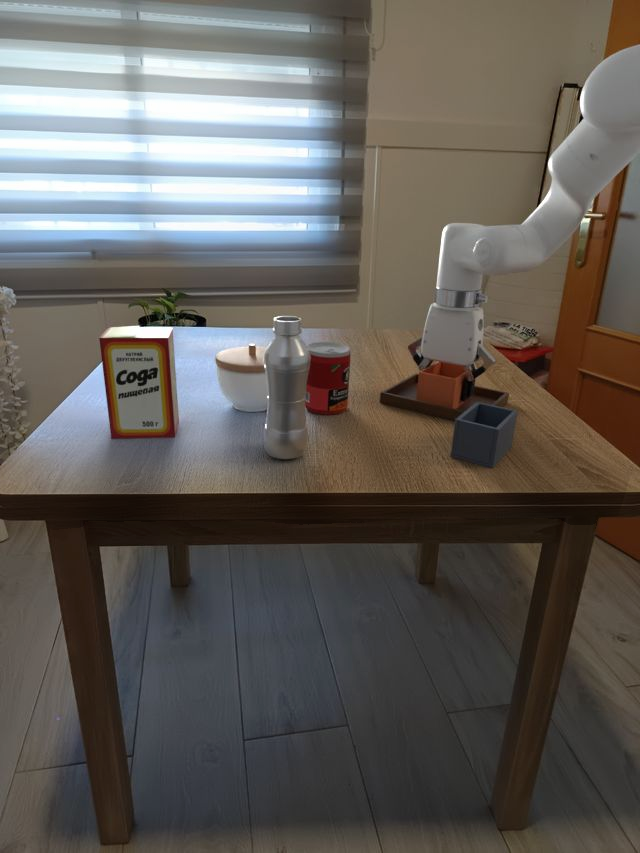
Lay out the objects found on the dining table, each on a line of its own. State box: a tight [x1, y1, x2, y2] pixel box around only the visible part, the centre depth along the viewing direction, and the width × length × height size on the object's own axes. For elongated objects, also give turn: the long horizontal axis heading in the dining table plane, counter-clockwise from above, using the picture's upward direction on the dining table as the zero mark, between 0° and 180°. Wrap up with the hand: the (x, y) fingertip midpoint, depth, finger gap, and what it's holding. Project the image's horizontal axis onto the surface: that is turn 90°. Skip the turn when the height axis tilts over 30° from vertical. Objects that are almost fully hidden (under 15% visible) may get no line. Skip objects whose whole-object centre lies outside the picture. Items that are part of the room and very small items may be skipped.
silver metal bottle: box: [262, 315, 311, 460], centre depth 80 cm, size 6×7×20 cm
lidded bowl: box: [214, 343, 268, 413], centre depth 100 cm, size 13×13×11 cm
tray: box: [379, 372, 510, 422], centre depth 106 cm, size 19×15×2 cm
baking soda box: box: [98, 325, 180, 440], centre depth 88 cm, size 10×6×16 cm
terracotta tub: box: [416, 361, 471, 409], centre depth 106 cm, size 7×10×6 cm
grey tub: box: [450, 402, 519, 469], centre depth 86 cm, size 6×9×6 cm
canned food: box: [305, 341, 352, 416], centre depth 100 cm, size 8×8×11 cm
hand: (445, 394), depth 106 cm, fingers open, 7 cm apart
